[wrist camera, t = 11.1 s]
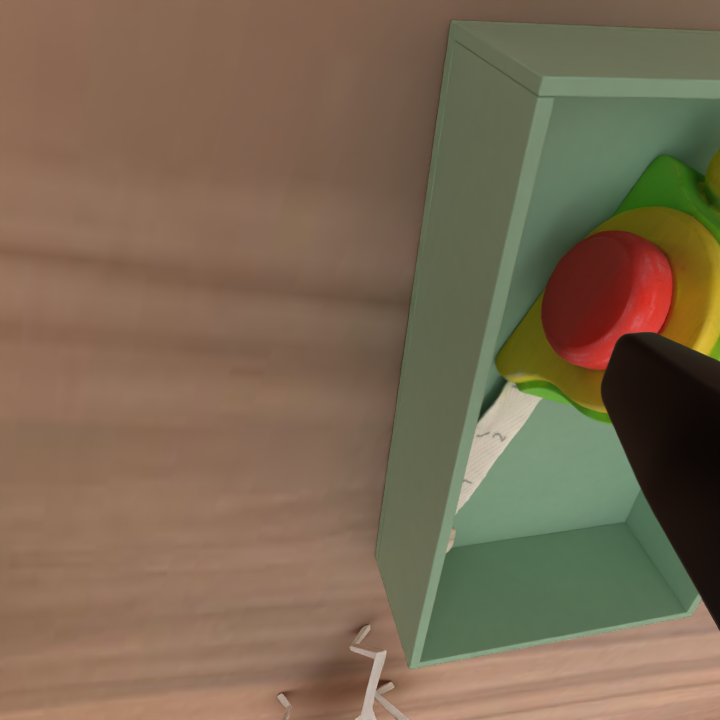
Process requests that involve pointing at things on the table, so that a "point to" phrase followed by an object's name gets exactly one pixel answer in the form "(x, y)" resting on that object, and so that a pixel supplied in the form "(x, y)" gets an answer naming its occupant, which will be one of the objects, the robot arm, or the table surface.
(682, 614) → the tray
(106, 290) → the table surface
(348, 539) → the table surface
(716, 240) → the toy measuring tape
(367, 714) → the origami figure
